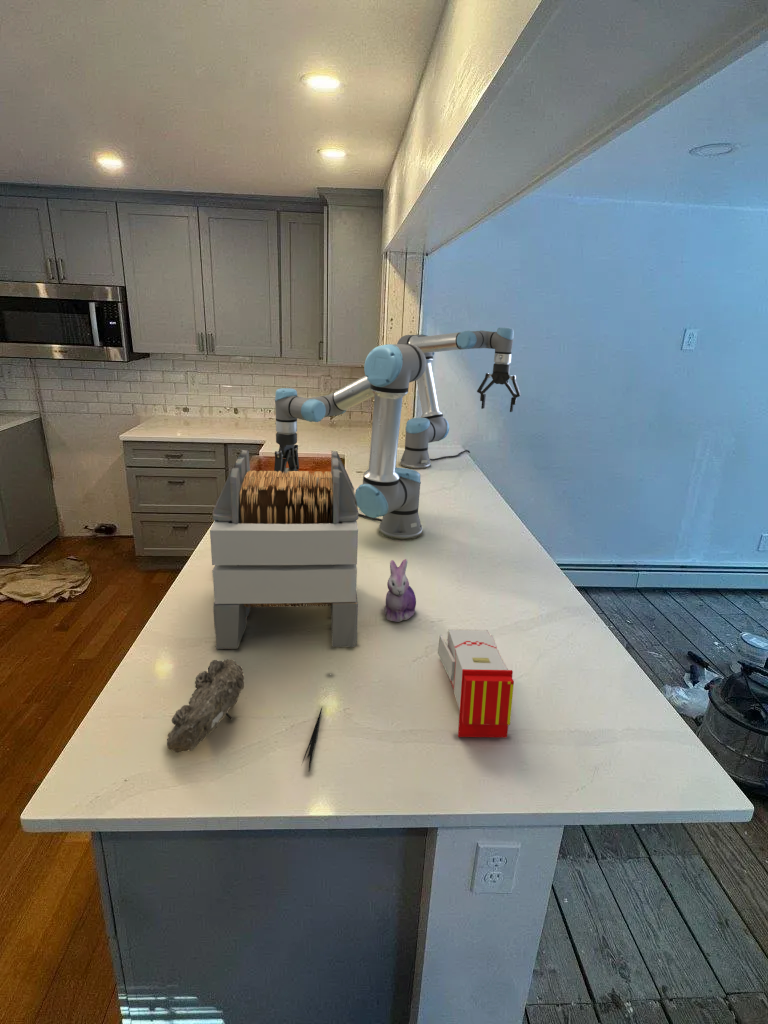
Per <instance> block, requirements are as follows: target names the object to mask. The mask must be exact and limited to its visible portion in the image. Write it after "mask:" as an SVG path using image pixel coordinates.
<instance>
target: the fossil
mask: <svg viewBox="0 0 768 1024" xmlns="http://www.w3.org/2000/svg"><path fill="white" fill-rule="evenodd" d="M243 670H244V669H243V667H242V665H240V664H237V662H236V661H235V660H234V659H232V658H231V659H227V658H226V659H224V660H223V661H222V660H217V659H212V660H211V661H210V663H209V665H208V666H207V671H201V672H199V673H198V674H197V675H196V676H195V680H194V684H195V685H194V687H195V689H194V690H193V693H192V694H191V697H190V698H189V700H188V704H184V705H182V706H181V707H180V709H177V710H176V711H175V713H174V715H173V716H172V718H171V723H172V724H173V727H172V730H171V731H170V732H168V734H167V738H166V741H167V742H166V745H167V749H168V750H169V751H173V752H174V753H176V754H178V753H182V752H188V751H189V752H192V751H193V750H195V748H196V747H197V746H199V744H200V743H201V742H203V741H204V740H205V739H206V738H207V737H208V736H209V735H210V734H211V733H212V732H214V730H215V729H217V727H218V726H219V724H220V722H221V721H222V720H223V719H224V718H225V716H226V717H227V719H229V720H233V717H232V715H230V714H229V710H230V709H231V708H234V706H235V704H236V703H237V702H238V699H239V697H240V695H241V693H242V691H243V690H245V689H244V688H245V675H244V671H243Z"/></svg>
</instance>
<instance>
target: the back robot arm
mask: <svg viewBox="0 0 768 1024" xmlns="http://www.w3.org/2000/svg"><path fill="white" fill-rule="evenodd" d="M514 334H515V330H514V329H513V328H512V327H497V329H496V331H490V330H489V331H488V330H473V331H472V330H464V331H461V332H450V333H444V334H433V335H427V334H422V333H421V334H406V335H403V336H401V337H400V338H399V339H398V341H397V343H396V344H412V345H415V346H417V347H419V348H420V349H421V350H422V352H423V353H424V355H425V358H426V369H425V371H424V373H423V375H422V376H421V377H420V378H419V379H418V380H416V384H417V389H418V395H419V400H420V407H421V411H422V414H421V415H420V417H413V418H410V419H408V420H407V421H406V425H405V437H404V450H403V453H402V456H401V458H400V461H399V462H400V466H401V467H402V468H406V469H411V470H423V469H428V468H430V467H431V462H432V461H440V460H443V459H450V458H457V457H459V456H461V455H462V454H464V453H469V454H471V451H470V450H469V449H464V450H462V451H460V452H458V454H455V455H446V456H440V457H436V458H430V455H429V444H430V443H434V442H440V441H442V440H444V439H446V438H447V436H448V435H449V432H450V423H449V421H448V420H447V419H446V418H444V414H443V412H442V411H440V409H439V408H440V407H439V403H438V402H439V401H438V397H437V391H436V385H435V378H434V373H433V366H432V363H433V361H434V355H435V353H439V352H440V353H441V352H449V351H460V350H472V349H473V350H474V349H488V350H489V349H490V350H494V355H493V356H494V357H493V362H494V363H493V367H492V372H491V373H490V372H486V373H485V375H484V378H483V380H482V381H481V383H480V385H479V387H478V388H477V390H476V393H478V394H480V395H479V401H480V402H481V406H480V407H481V410H483V409H485V406H486V397H487V393H486V392H487V391H488V390H489V389H490V388H491V387H492V386H493V385H501V386H503V385H504V386H505V387H506V388H507V390H508V391H509V394H511V396H512V397H511V398H510V406H509V413H513V411H514V406H515V405H516V404H517V398H519V397H521V396H522V393H521V390H520V387H519V384H518V382H517V375H516V374H513V375H510V372H511V371H510V370H511V363H512V351H513V343H514V339H515V338H514V336H515V335H514ZM490 378H491V379H492V380H491V381H490V382H489V383H488V384H487V382H488V381H489V379H490ZM509 380H511V382H512V385H513V387H512V385H511V384H510V382H509ZM486 384H487V385H486Z"/></svg>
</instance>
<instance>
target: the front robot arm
mask: <svg viewBox="0 0 768 1024" xmlns="http://www.w3.org/2000/svg"><path fill="white" fill-rule="evenodd" d="M363 366H364V367H363V368H364V369H363V370H364V375H363V376H361V377H359V378H357V379H356V380H354V381H352V382H350V383H348V384H346V385H345V386H343V387H340V388H338V389H337V390H335V391H333V392H331V393H330V394H327V395H326V394H325V395H319V396H313V397H304V396H303V397H302V396H299V395H298V391H297V390H296V389H295V388H292V387H291V388H290V387H282V388H277V389H276V390H275V397H274V403H275V431H276V433H275V442H276V444H277V445H279V447H278V450H277V451H276V450H274V468H273V469H274V470H273V471H282V473H283V472H284V473H285V469H286V468H287V464H288V468H293V469H296V470H298V471H300V461H299V460H300V459H299V445H298V444H297V443H298V433H297V432H298V419H299V420H302V421H307V422H310V423H319V422H321V421H322V420H323V419H324V418H328V417H337V416H340V415H343V414H346V412H347V410H348V409H350V408H352V407H355V406H357V405H359V404H361V403H363V402H366V401H367V400H369V399H371V398H374V399H373V410H372V422H371V438H370V449H369V460H368V469H367V470H366V471H364V472H363V477H362V478H363V479H362V484H360V485H359V486H358V487H357V488H356V489H355V491H354V492H355V497H356V502H357V507H358V509H359V511H360V512H361V513H359V516H358V517H361V518H364V519H367V520H372V521H376V522H379V525H378V533H379V534H380V535H381V536H382V537H385V538H387V539H389V540H395V541H410V540H415V539H418V538H420V537H421V536H422V535H423V525H422V524H421V518H420V515H419V507H420V506H419V505H420V496H421V495H420V494H421V493H420V492H421V482H422V481H421V474H420V472H419V471H417V470H416V469H412V468H406V467H397V457H398V446H399V437H400V428H401V427H400V426H401V417H402V408H403V398H404V397H405V396H407V394H408V393H409V389H410V387H409V386H410V383H413V382H415V381H416V382H417V380H418V379H419V378H420V377H421V376H422V375H423V373H424V371H425V369H426V358H425V355H424V353H423V352H422V350H421V349H420V348H419V347H417V346H415V345H412V344H397V343H395V344H394V343H389V344H388V343H385V344H382V345H378V346H376V347H374V348H372V350H370V351H369V353H367V356H366V358H365V360H364V365H363ZM380 517H382V518H380Z"/></svg>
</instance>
